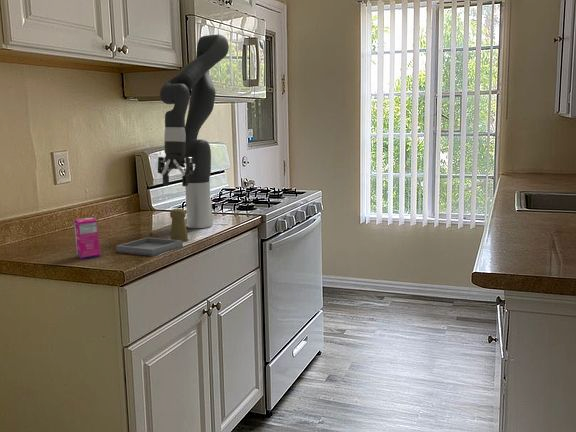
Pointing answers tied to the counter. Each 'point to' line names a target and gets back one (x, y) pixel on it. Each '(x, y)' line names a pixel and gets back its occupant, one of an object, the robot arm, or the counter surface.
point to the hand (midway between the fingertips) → (175, 185)
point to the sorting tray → (149, 246)
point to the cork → (178, 225)
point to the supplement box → (87, 238)
